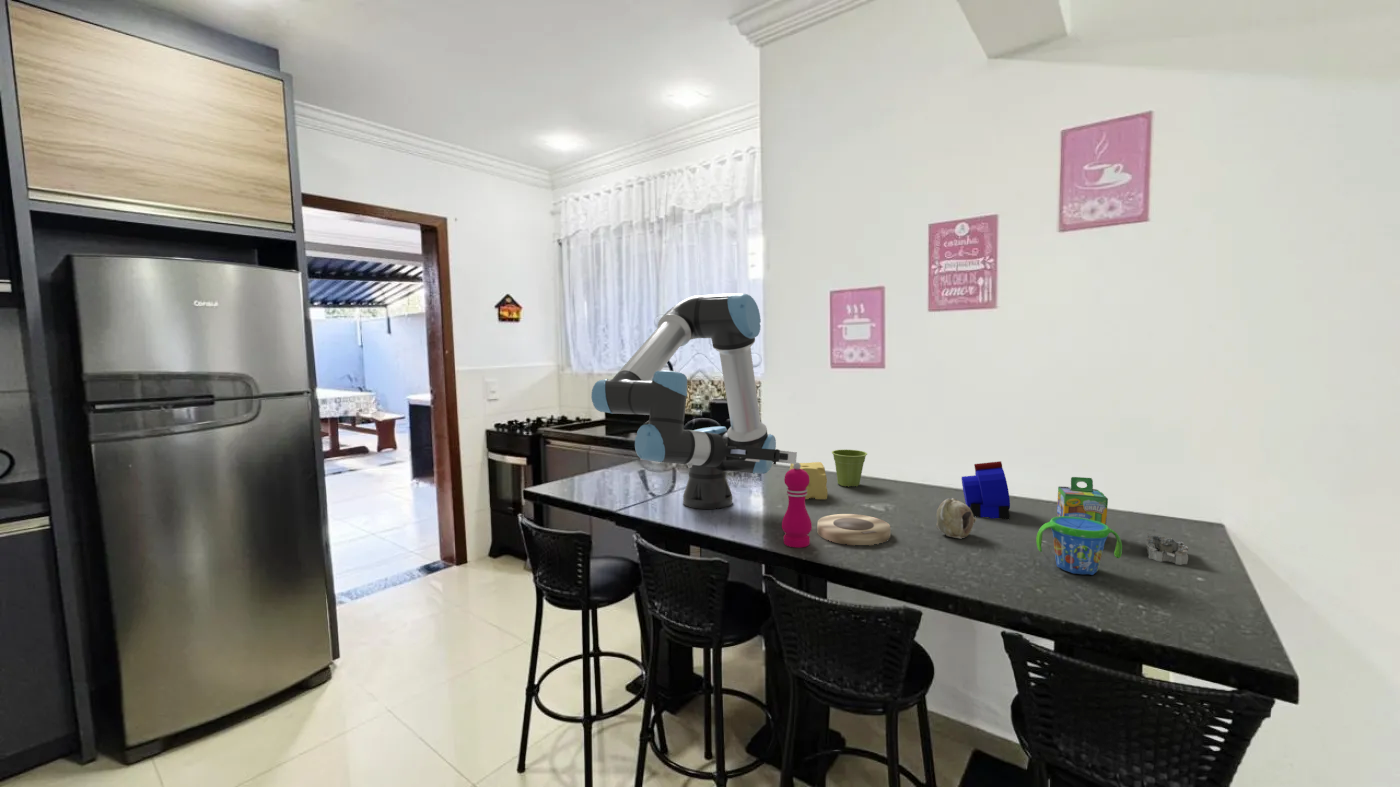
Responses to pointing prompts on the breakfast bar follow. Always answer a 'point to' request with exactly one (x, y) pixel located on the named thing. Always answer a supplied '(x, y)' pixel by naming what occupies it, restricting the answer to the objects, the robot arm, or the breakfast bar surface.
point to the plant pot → (849, 466)
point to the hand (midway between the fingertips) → (776, 457)
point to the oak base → (853, 529)
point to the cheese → (815, 480)
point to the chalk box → (1082, 501)
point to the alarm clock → (987, 491)
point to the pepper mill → (796, 509)
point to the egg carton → (1166, 549)
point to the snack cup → (1078, 543)
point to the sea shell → (954, 518)
